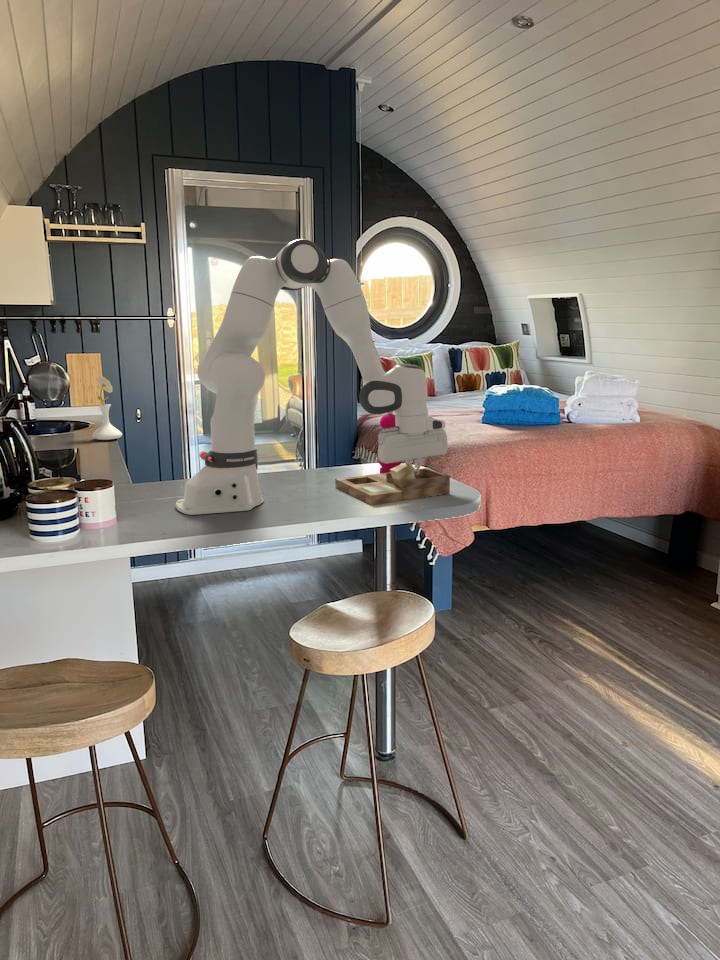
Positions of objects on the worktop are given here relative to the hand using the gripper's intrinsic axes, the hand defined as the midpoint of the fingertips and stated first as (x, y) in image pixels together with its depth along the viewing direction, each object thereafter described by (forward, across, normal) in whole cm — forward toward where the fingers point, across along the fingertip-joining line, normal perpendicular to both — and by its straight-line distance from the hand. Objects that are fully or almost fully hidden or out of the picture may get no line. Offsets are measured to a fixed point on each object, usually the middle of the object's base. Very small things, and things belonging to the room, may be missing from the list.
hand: (414, 474), depth 203 cm
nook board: (+5, -4, +5) cm, 8 cm away
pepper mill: (+5, +6, +24) cm, 25 cm away
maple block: (+2, -3, 0) cm, 4 cm away
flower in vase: (0, -60, +137) cm, 149 cm away
